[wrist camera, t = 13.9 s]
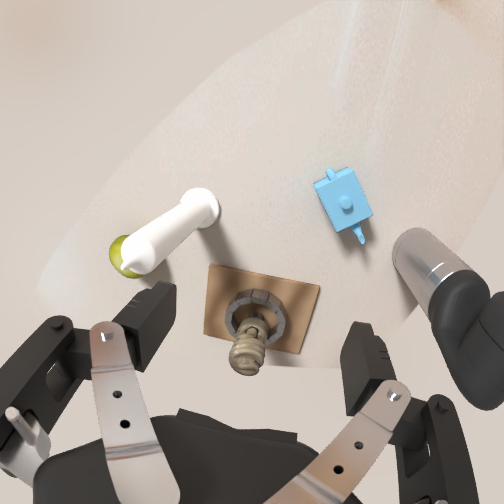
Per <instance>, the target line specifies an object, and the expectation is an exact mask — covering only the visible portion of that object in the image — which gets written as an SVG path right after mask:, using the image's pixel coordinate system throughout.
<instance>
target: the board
mask: <svg viewBox="0 0 504 504" xmlns="http://www.w3.org/2000/svg"><path fill="white" fill-rule="evenodd" d="M252 288H253V289H254V288H256V289H261V290H266V291H269V292H271V293H273V294H274V295H275V296H276V297H278V298H279V299H280V300H281V301H282V303H283V305H284V308H285V310H286V324H285V328H284V331H283V335H282V336H281V337H280V338H278V339H277V340H276V341H275V342H273V343H272V344H268V345H264V346H265V348H268V349H273V350H278V351H284V352H289V353H295V354H298V353H299V350H300V347H301V344H302V341H303V338H304V335H305V332H306V329H307V326H308V323H309V320H310V317H311V314H312V310H313V307H314V304H315V301H316V297H317V294H318V291H319V285H314V284H309V283H304V282H299V281H294V280H289V279H284V278H279V277H274V276H269V275H264V274H259V273H254V272H249V271H244V270H239V269H234V268H230V267H225V266H220V265H215V264H210V265H209V273H208V283H207V295H206V306H205V319H204V332H203V334H205V335H209V336H213V337H217V338H221V339H226V340H230V341H235V339H236V338H234V337H233V336H231V335H230V333H229V331H228V329H227V327H226V325H225V314H226V309H227V307H228V305H229V302H230V301H231V300H232V299H233V298H234V296H235V295H236V294H237V293H238V292H240V291H244V290H248V289H252ZM253 312H260V313H261V314H262V316H263V318H264V322H265V323H266V325H267V328H268V330H270V329H271V328H273V327H274V326H275V325H276V324H277V323H278V319H277V317H276V314H275V312H273V311H272V310H271V309H269V308H268V307H267V306H265V305H262V304H257V303H248V304H244V305H240V306H239V307H238V308H237V309H236V310H235V312H234V315H235V317H236V319H237V321H238V323H239V324H241V323H242V321H243V320H245V319H247V318H249V316H250V314H251V313H253Z"/></svg>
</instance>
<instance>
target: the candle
mask: <svg viewBox="0 0 504 504" xmlns="http://www.w3.org/2000/svg"><path fill="white" fill-rule="evenodd" d="M218 215H219V203H218V200H217V198H216V197H215V195H214V194H213V193H212V192H210V191H209V190H207V189H204V188H194V189H191V190H189V191H188V192H186V193H185V194H184V195H183V197H182V199H181V201H180V205H178V206H177V207H175V208H173V209H172V210H170V211H168V212H167V213H165V214H164V215H162V216H160V217H159V218H157V219H155V220H154V221H152V222H151V223H149V224H147V225H146V226H144V227H143V228H141V229H140V230H138V231H136V232H135V233H133V234H132V235H130V236H129V237H127V238H126V239H125V240H124V242H123V244H122V247H121V256H122V259H123V261H124V262H123V264H122V265H121V270H123V271H124V270H126V269H130V270H131V271H133V272H135V273H137V274H148V273H150V272H151V271H153V270H154V269H155V268H156V267H157V266H158V265H159V264H160V263H161V262H162V261H163V260H164V259H165V258H166V257H167V256H168V255H169V254H170V253H171V252H172V251H173V250H174V249H175V248H176V247H177V246H178V245H180V244H181V243H182V242H183V241H184V240H185V239H186V238H187V237H188V236H189V235H190V234H191V233H192V232H193V231H194V230H195V229H197V228H206V227H209V226H210V225H212V224H213V223H214V222H215V221H216V219H217V218H218Z"/></svg>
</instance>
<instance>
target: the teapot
mask: <svg viewBox="0 0 504 504" xmlns="http://www.w3.org/2000/svg"><path fill="white" fill-rule="evenodd" d="M326 174H327V177H325V178H323V179H321V180H319V181H317V182H315V183H313V185H314V187H315V190H316V192H317V194H318V195H319V197H320V199H321V201H322V203H323V205H324V208H325V210H326V212H327V214H328V216H329V218H330V220H331V222H332V224H333V226H334V228H335V230H336V232H339V231H341V230H343V229H345V228H347V227H349V228H350V229H351V230H352V231H353V232H354V233H355V234H356V236H357V237H358V239H359V241H360V243H361V244H365V239H364V236H363V234H362V230H361V224H360V221H362V220H364V219H366V218H368V217H370V216H372V215H373V213H372V211H371V209H370V206H369V204H368V202H367V199H366V197H365V195H364V192H363V190H362V188H361V186H360V184H359V181H358V179H357V177H356V175H355V173H354V171H353V170H352V169H350V168H348V167H346V168H344V169H342V170H339V171H337V172H334V170H333V169H332V168H329V169H327V170H326Z"/></svg>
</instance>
